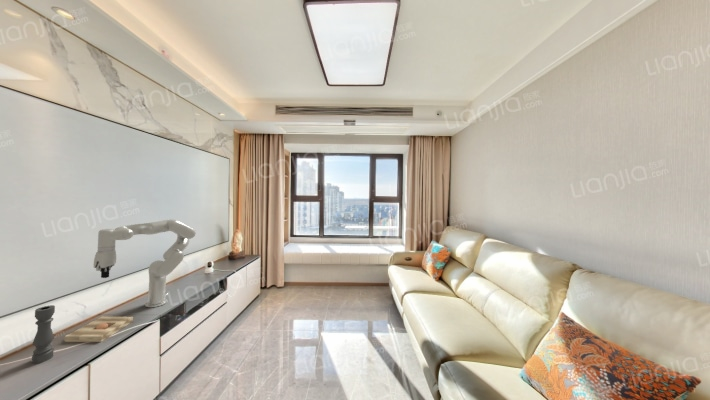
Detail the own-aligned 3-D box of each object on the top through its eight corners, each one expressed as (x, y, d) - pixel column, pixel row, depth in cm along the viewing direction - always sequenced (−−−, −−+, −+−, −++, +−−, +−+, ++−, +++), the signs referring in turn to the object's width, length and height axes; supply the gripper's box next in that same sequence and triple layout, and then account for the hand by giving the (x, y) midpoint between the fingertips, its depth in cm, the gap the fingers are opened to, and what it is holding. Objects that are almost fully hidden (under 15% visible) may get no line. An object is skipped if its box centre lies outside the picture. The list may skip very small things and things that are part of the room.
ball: (109, 320, 136) (111, 328, 135) (102, 322, 136) (104, 330, 136) (99, 324, 131) (101, 333, 130) (92, 326, 131) (93, 335, 131)
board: (101, 321, 143) (101, 316, 143) (132, 321, 145) (133, 316, 145) (64, 341, 123) (64, 336, 123) (101, 341, 125) (101, 336, 125)
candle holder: (42, 363, 108) (45, 311, 108) (26, 364, 107) (29, 311, 107) (57, 354, 114) (59, 305, 114) (42, 354, 113) (44, 305, 113)
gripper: (111, 245, 151) (109, 273, 151) (87, 251, 136) (85, 281, 137) (123, 246, 152) (122, 273, 152) (101, 251, 137) (99, 282, 137)
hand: (105, 277), depth 144 cm, fingers closed
